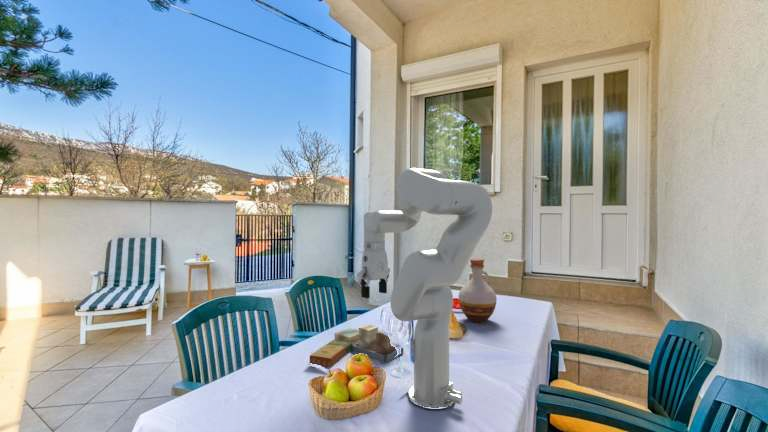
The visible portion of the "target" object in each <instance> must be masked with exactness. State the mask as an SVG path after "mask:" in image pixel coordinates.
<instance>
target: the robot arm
mask: <svg viewBox="0 0 768 432" xmlns="http://www.w3.org/2000/svg"><path fill="white" fill-rule="evenodd" d="M395 188H396V193H397V199H396V205H397V207H398V209H399V210H375V211H367V212H365V213H364V215H363V251H362V259H361V270H360V271H359V272H358V273H357V274H356V278H357V281H358V283H359V286H360V288H361V291H360V293H361V295H360V296H361V298H363V299H370V298H371V297H370V293H371V292H370V289H371V288H370V286H369V285H370V283H371V281H378V280H379V281H378V292H379V293H380V294H387V291H388V290H387V289H388V284H387V283H388V281H389V277H390V272H391V269H390V267H389V261H388V254H387V250H386V234H387V233H389V234H390V233H391V234H393V233H394V234H396V233H397V234H399V233H400V234H401V233H405V232H407V231H410V230H411V229H412V228H414V227H416V226H417V225H418V223H419V221H420V219H421V216H422V213H423V212H425V213H427V214H430V215H436V216H457V217H456V218H455V219H454V221H452V223H450V224H449V225H448V226H447V228H445V230H444V232H443V233H442V236H441V238H440V240H439V242H438V244H437V246H436V247H434V248H433V249H424V250H417V251H414V252H412V253H410V254H409V255H408V256H407V257H406V258H405V260H404V262H403V263H402V266H401V269H400V271H399V274H398V276H397V278H396V281H395V284H394V286H393V289H392V291H391V295H390V310H391V312H392V315H393V316H394V317H395V318H396V319H397V320H398V321H401V322H413V321H416V323H415V327H414V331H413V385H412V386H411V387H410V388H409V389H408V392H407V393H408V394H407V395H409V397H410V399H411V400H412V401H413V402H415V403H417V404H418V405H421V406H424V407H431V408H439V407H447V406H450V405H452V404H453V403H454V404H456V405H457V404H458V405H462V403H463V396H462V395H463V392H462V391H460V390H455V388H454V382H452V381H450V329H451V317H452V312H453V311H452V310H453V307H454V294H453V291H452V289H451V287H450V286H453V285H455V284H457V283H458V282H459V280H460V279H461V277H462V275H463V273H464V271H465V270H466V268H467V266H468V265H469V262H470V259H472V255H473V254H474V251H475V249H476V247H477V246H478V244H479V243H480V240H481V239H482V238H483V236H484V234H485V233H486V231H487V229H488V227H489V225H490V222H491V219H492V214H493V202H492V198H491V196H490V193H489V192H488V190H487V189H486V188H485V187H484V186H483V185H481V184H478V183H477V182H472V181H468V180H458V179H456V180H455V179H448V178H447V176H446V175H445V174H443V173H442V172H441V171H438V170H434V169H426V168H417V167H411V168H410V167H409V168H407V169H404V170H403V171H401V172H400V173H399V175H398V177H397V179H396V184H395ZM409 397H408V398H409ZM410 399H409V400H410ZM454 404H453V405H454ZM453 405H452V406H453ZM450 407H451V406H450Z"/></svg>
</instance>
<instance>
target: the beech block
mask: <svg viewBox="0 0 768 432" xmlns="http://www.w3.org/2000/svg"><path fill="white" fill-rule="evenodd" d="M358 330H359V347H362V348H365V349H368V350H371V351H374V350H376V332H379V327H378V326H376V325H372V324H365V325H361V326H359V327H358Z"/></svg>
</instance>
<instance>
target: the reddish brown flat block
mask: <svg viewBox="0 0 768 432" xmlns="http://www.w3.org/2000/svg"><path fill="white" fill-rule="evenodd" d="M351 345H352V342H346V341H338V340H335V339H333V340H331V341H329V342H328V343H326V344H325V345H323V346H322V347H321V348H319V349H317V350H316V351H315V352H313V353H312V354H310V355H309V364H310V363H312V364H317V365H321V366H323V367H325V368H332V367H333V366H335V365H336V364H337V363H339V361H341V360H342V359H343V358H344V357H345V356H347V355H348V354H349V353H351V352H352V351H351Z"/></svg>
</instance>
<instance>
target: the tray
mask: <svg viewBox="0 0 768 432" xmlns="http://www.w3.org/2000/svg"><path fill="white" fill-rule="evenodd" d="M350 352H353V353H356V354H359V353H364V354H367V355H368V356H369V357H368V358H371V359H374V360H377V361H379V362H381V363H385V364H386V363H388V362H390V361H393V360H394V359H395V358H394V357H395V356H396V355H397V350H395V351H393V352H391V353H389V354H387V355H383V354H380V353H377V352H376V350H374V351H371V350H368V349H365V348H362V347H359V342H358V343H355V344H353V345H351V351H350ZM403 354H404V347H402V348H401V355H400V356H402V355H403Z"/></svg>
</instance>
